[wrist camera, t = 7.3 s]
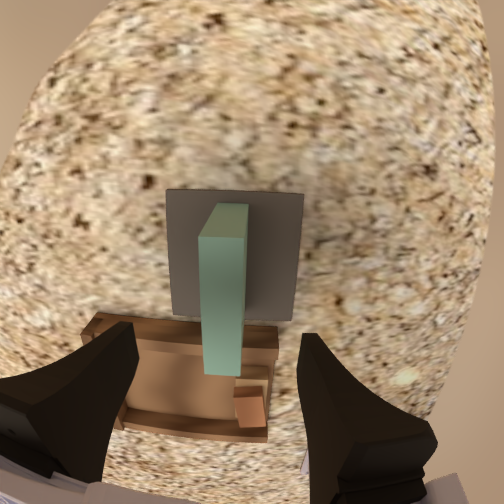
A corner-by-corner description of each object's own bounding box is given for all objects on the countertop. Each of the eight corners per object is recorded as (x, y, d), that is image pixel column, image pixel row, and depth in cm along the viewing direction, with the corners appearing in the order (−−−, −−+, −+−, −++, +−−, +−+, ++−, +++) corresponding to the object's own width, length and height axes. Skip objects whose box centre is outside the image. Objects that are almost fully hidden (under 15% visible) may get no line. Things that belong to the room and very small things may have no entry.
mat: (303, 193, 20) (304, 194, 20) (290, 318, 24) (291, 321, 23) (166, 189, 20) (165, 190, 20) (173, 312, 24) (173, 314, 23)
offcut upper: (262, 385, 23) (262, 396, 22) (265, 416, 24) (265, 426, 23) (234, 387, 23) (233, 397, 22) (240, 417, 25) (239, 427, 23)
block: (248, 203, 20) (244, 238, 14) (244, 311, 23) (240, 376, 16) (217, 202, 20) (198, 236, 14) (217, 309, 23) (204, 374, 16)
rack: (277, 326, 24) (279, 353, 21) (266, 421, 28) (266, 447, 25) (97, 312, 24) (80, 334, 21) (123, 406, 28) (114, 428, 25)
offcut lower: (267, 366, 24) (268, 380, 23) (263, 405, 26) (264, 418, 25) (236, 365, 24) (235, 378, 23) (236, 404, 26) (235, 417, 25)
